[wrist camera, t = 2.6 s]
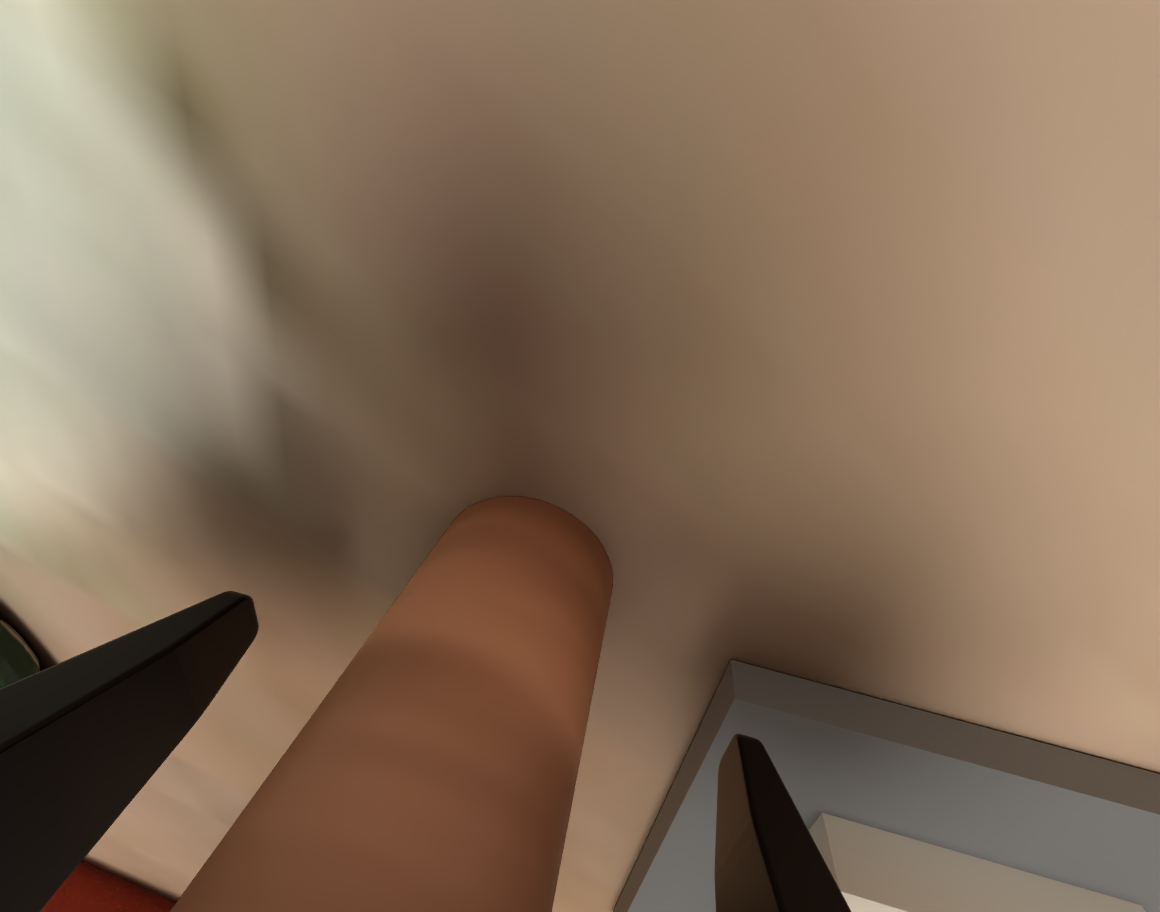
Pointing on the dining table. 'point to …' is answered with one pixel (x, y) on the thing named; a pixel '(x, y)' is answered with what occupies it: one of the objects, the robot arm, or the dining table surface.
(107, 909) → the plant saucer
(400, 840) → the terracotta pin
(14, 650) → the coffee jar
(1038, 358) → the dining table surface
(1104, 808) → the board
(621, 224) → the dining table surface
